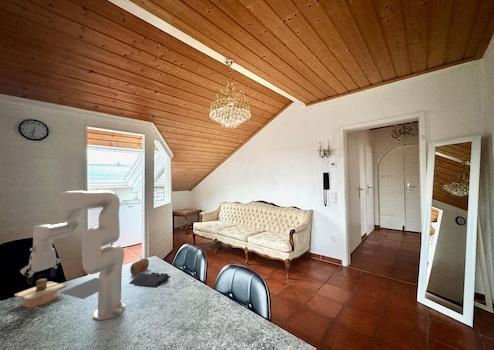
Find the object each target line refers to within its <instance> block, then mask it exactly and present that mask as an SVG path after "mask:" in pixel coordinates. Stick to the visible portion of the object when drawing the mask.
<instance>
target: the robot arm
mask: <svg viewBox="0 0 494 350" xmlns="http://www.w3.org/2000/svg"><path fill="white" fill-rule="evenodd" d="M120 204H121V201H120V198H119V196H118V195H117V193H115V192H113V191H110V190H71V191H70V190H69V191H63V192H61V193H60V194H59V195H58V196H57V198H56V206H57V207H58V208H59V209H60V210H59V216H60V218H62V219H64V220H66V222H61V223H56V224H49V223H46V224H45V223H43V224H37V225H35V226H34V227H33V232H32V234H33V235H32V236H33V237H32V238H33V239H32V247H31V248H29V251H30V252H31V253H30V255H29V260H28V261H29V262H28V265H26V266H24V267H22V268H21V269H20V271H19V272H20V273H21V274H22V275H23V276H24V277H26V282H27V285H33V284H34V276H33V275H34V274H35V273H38V272H41V271H44V270H48V269H50V268H51V269H50V277H56V274H57V269H58V267H59V266H60V264H61V262H62V261H63V259H62V258H58V257H57V253H56V249H55V247H53V240H56V239H59V238H63V237H64V238H65V237H67V236H70V235H72V234H73V233H74V232H75V231H76V230H77V229H78V227H79V226H80V222H81V221H80V220H81V219H80V215H82V214H83V213H84V211H85V210H89V209H90V210H91V209H100V208H102V209H101V211H100V212H99V215H98V225H97V226H95V227H91V228H89V229H87V230H85V231H84V233H83V234H82V237H81V261H82V262H81V263H82V269H83V271H84V272H85V273H86V274H88V275H95V274H97V273H99V274H98V278H99V279H98V292H97V309H96V310H95V311H94V312H93V315H92V316H93V319H95V320H96V321H104V320H109V319H113V318H114V317H117V316H119V315H120V314H122V313H123V311H124V310H125V309H126V306H125V304H124V303H123V301H122V272H123V271H122V270H123V265H124V264H123V263H124V259H125V251H124V248H123V247H122V246H121V245H117V244H115V245H111V244H114V243H116V242H117V241H119V238H120V236H121V234H120V233H121V232H120V231H121V230H120V229H121V228H120ZM108 245H109V246H108ZM105 246H106V247H105ZM103 247H104V248H103ZM27 270H28V272H27Z"/></svg>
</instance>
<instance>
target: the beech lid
mask: <svg viewBox="0 0 494 350" xmlns="http://www.w3.org/2000/svg"><path fill="white" fill-rule="evenodd" d="M35 285H36V286H33V287H30V288H28V289H25V290H22V291H19V292H17V293H14V294H13V295H14V297H17V298H20V299H26V300H29V301H33V300H35V299H38V298H40V297H43V296H45V295H47V294H50V293H52V292H55V291H57V292H58V291H59V290H62V289H64V288H67V284H62V283H58V282H54V281H50V280H49V281H48V279H47V278H46V277H45V278H40V279H38V280H36V281H35Z"/></svg>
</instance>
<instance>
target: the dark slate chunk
mask: <svg viewBox="0 0 494 350" xmlns="http://www.w3.org/2000/svg"><path fill="white" fill-rule="evenodd" d="M170 277H171V276H170V275H168V273H163V272H162V273H159V272H151V273H144V272H142V273H140V274H138V275H135V277H134V278H133V279H132V280H131V281H129V283H128V284H129V285H132V286H133V287H134V286H135V287H145V288H152V289H153V288H154V289H156V288H159V286H160V285H161V284H162V283H163V284H165V283H167V282H168V280H169V279H170ZM168 278H169V279H168ZM163 284H162V285H163ZM162 285H161V286H162ZM161 286H160V287H161Z"/></svg>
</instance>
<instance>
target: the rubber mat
mask: <svg viewBox="0 0 494 350" xmlns="http://www.w3.org/2000/svg"><path fill="white" fill-rule="evenodd" d="M98 279H99V277H94V278H91V279H89V280H87V281H85V282H81V283H80V284H77V285H74V286H72V287H70V288H67V289H64V290H63V291H60V292H59V293H60V294H63V295H66V296H67V295H68V296H70V297H75V298H77V299H82V300H83V299H84V300H85V299H86V298H89V297H91V296H92V295H94V294H98Z"/></svg>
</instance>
